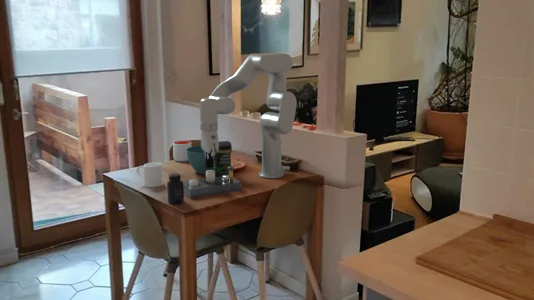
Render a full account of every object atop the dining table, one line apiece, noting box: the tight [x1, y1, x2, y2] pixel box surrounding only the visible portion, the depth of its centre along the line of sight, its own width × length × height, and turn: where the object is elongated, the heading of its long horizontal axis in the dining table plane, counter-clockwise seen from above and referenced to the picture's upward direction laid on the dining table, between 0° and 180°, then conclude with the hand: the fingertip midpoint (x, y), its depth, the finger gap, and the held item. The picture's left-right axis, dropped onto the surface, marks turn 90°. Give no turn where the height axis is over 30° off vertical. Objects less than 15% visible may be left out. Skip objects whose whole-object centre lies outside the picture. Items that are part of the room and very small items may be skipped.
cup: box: [172, 140, 192, 163], centre depth 290 cm, size 10×10×10 cm
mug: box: [135, 161, 163, 188], centre depth 245 cm, size 8×12×10 cm, turn 82°
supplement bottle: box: [166, 172, 185, 205], centre depth 220 cm, size 7×7×12 cm
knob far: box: [188, 179, 198, 187], centre depth 233 cm, size 4×4×5 cm
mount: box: [183, 175, 242, 199], centre depth 236 cm, size 24×13×6 cm, turn 118°
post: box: [228, 165, 235, 183], centre depth 235 cm, size 3×3×7 cm
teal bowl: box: [186, 144, 213, 175], centre depth 266 cm, size 18×18×12 cm
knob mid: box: [205, 170, 215, 183], centre depth 236 cm, size 4×4×5 cm
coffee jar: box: [212, 140, 233, 177], centre depth 253 cm, size 10×8×19 cm
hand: (209, 166), depth 234 cm, fingers closed
